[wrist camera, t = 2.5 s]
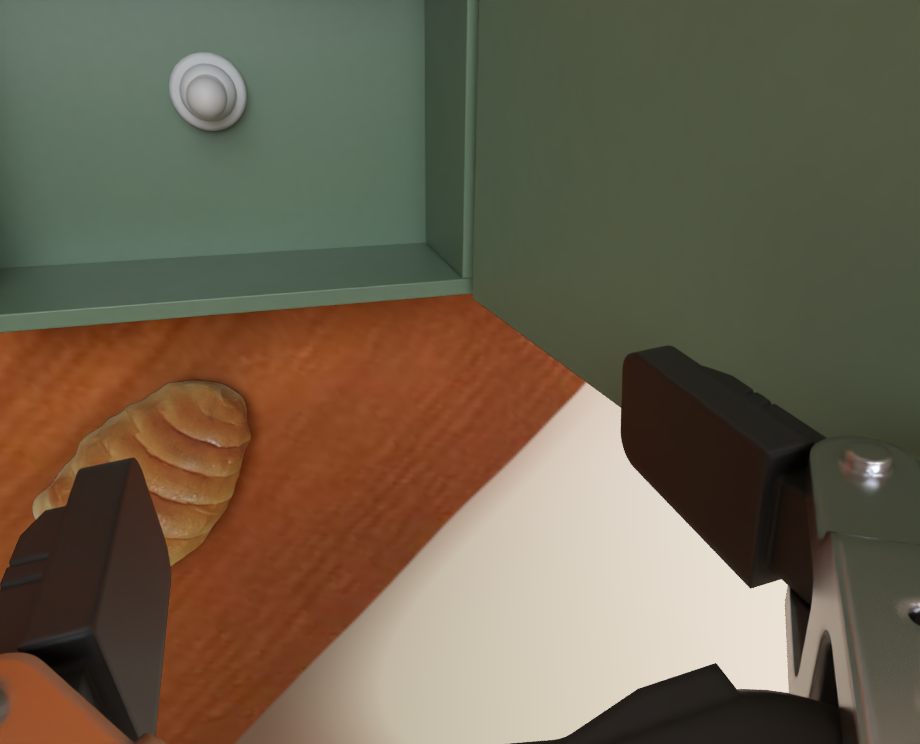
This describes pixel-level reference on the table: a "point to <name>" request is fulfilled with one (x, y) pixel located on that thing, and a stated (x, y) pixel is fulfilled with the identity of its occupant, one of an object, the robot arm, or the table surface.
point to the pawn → (207, 91)
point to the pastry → (171, 457)
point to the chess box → (233, 158)
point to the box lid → (710, 194)
